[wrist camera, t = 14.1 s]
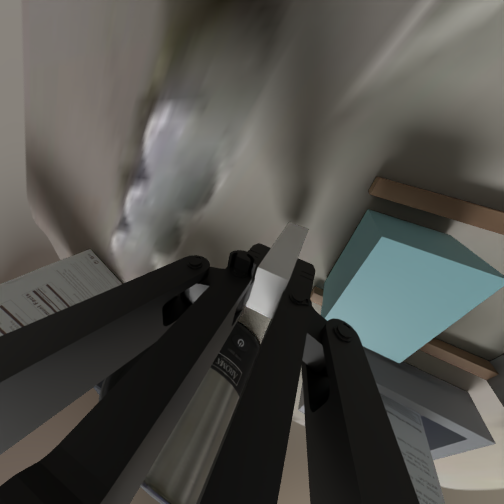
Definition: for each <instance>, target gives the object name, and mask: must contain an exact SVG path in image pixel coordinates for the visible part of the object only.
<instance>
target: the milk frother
mask: <svg viewBox="0 0 504 504" xmlns="http://www.w3.org/2000/svg"><path fill="white" fill-rule="evenodd" d="M156 342H157V341H156ZM156 342H155V343H156ZM155 343H154V344H155ZM154 344H152V345H151V346H149V347H148V348H147V349H145V350H144V351H143V352H141V353H140V354H138V355H137V356H136V357H134V358H133V359H132V360H130V361H129V362H127V363H126V364H125V365H123V366H122V367H121V368H119V369H118V370H116V371H115V372H114V373H112V374H111V375H109V376H108V377H107V378H105V380H104V382H103V384H102V387H101V391H100V395H99V401H100V400H101V399H102V398H103V397H104V396H105V395H106V394H107V393H108V392H109V391H110V390H111V389H112V388H113V387H114V386H115V385H116V384H117V383H118V382H119V380H120V379H121V378H122V377H123V376H124V375H125V374H126V373H127V372H128V371H129V370H130V369H131V368H132V367H133V366H134V365H135V364H136V363H137V362H138V360H139V359H140V358H141V357H142V356H143V355H144V354H145V353H146V352H147V351H148V350H149V349H150V348H151V347H152V346H153V345H154ZM259 347H260V345H259V343H258V341H257V339H256V338H255V336H254V335H253V334H252V333H251V332H250V331H249V330H248V329H247V328H245V327H244V326H243V325H241V324H239V323H238V322H237V323H236V324H235V326H234V328H233V330H232V331H231V333H230V335H229V336H228V338H227V340H226V341H225V343H224V345H223V347H222V348H221V350H220V352H219V353H218V355H217V357H216V358H215V360H214V362H213V364H212V365H211V367H210V369H209V370H208V372H207V374H206V375H205V377H204V379H203V380H202V382H201V384H200V386H199V387H198V389H197V391H196V392H195V394H194V396H193V397H192V399H191V401H190V403H189V404H188V406H187V408H186V409H185V411H184V413H183V414H182V416H181V418H180V419H179V421H178V423H177V425H176V426H175V428H174V430H173V431H172V433H171V435H170V436H169V438H168V440H167V442H166V443H165V445H164V447H163V448H162V450H161V452H160V453H159V455H158V457H157V458H156V460H155V462H154V464H153V465H152V467H151V469H150V470H149V472H148V474H147V475H146V477H145V479H144V481H143V482H142V484H141V486H140V487H141V488H143V489H144V490H145V491H146V492H147V493H148V494H149V495H150V496H152V497H153V498H154V499H155V500H157V501H158V502H159V503H160V504H196V503H197V500H198V498H199V495H200V493H201V490H202V488H203V485H204V483H205V481H206V478H207V476H208V473H209V471H210V468H211V466H212V463H213V461H214V458H215V456H216V453H217V451H218V448H219V446H220V444H221V441H222V439H223V436H224V434H225V431H226V429H227V426H228V424H229V421H230V419H231V416H232V414H233V412H234V409H235V407H236V404H237V402H238V399H239V397H240V394H241V392H242V389H243V387H244V384H245V382H246V379H247V377H248V375H249V372H250V370H251V367H252V365H253V362H254V360H255V357H256V355H257V352H258V350H259Z"/></svg>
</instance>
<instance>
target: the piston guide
mask: <svg viewBox="0 0 504 504" xmlns="http://www.w3.org/2000/svg"><path fill="white" fill-rule="evenodd" d="M368 192H369V194H370V195H374V196H377V197H380V198H383V199H387V200H390V201H393V202H397V203H400V204H403V205H407V206H410V207H413V208H417V209H420V210H423V211H427V212H430V213H433V214H436V215H440V216H443V217H446V218H450V219H453V220H456V221H460V222H463V223H466V224H470V225H473V226H476V227H479V228H483V229H486V230H489V231H493V232H496V233H499V234H503V235H504V212H502V211H499V210H495V209H492V208H488V207H485V206H481V205H477V204H474V203H470V202H467V201H463V200H460V199H456V198H452V197H449V196H445V195H442V194H438V193H435V192H431V191H427V190H424V189H420V188H417V187H413V186H409V185H406V184H402V183H399V182H395V181H392V180H388V179H384V178H381V177H376V178H375V180H374V182H373V184H372V185H371V187H370V189H369V191H368ZM323 292H324V290H323V289H320V288H318V287H316V286H315V287H314V289H313V290H312V292H311V296H310V300H311V301H312V302H314V303H317V304H319V305H321V306H322V301H323ZM419 350H421V351H423V352H425V353H427V354H430V355H432V356H434V357H436V358H438V359H441V360H443V361H445V362H447V363H450V364H452V365H454V366H456V367H458V368H461V369H463V370H465V371H467V372H469V373H472V374H474V375H476V376H478V377H481V378H483V379H485V380H487V382H488V383H489V385H490V386H491V388H492V389H493V391H494V393H495V394H496V396H497V397H498V399H499V400H500V402H501V403H502V405H503V407H504V354H503V355H501V356H500V357H498V358H496V359H494V360H492V361H490V362H489V361H487V360H485V359H482V358H480V357H478V356H475V355H473V354H471V353H469V352H466V351H464V350H462V349H459V348H457V347H455V346H452V345H450V344H448V343H445V342H443V341H441V340H438V339H436V338H433V339H432V340H430V341H429V342H428V343H426V344H425V345H424V346H422V347H421V348H420V349H419Z"/></svg>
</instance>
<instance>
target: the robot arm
mask: <svg viewBox="0 0 504 504" xmlns="http://www.w3.org/2000/svg"><path fill="white" fill-rule="evenodd" d="M308 230H309V229H307V228H304V227H302V226H299V225H296V224H294V223H291V222H289V223H288V224H287V226H286V227H285V229H284V230H283V232H282V233H281V234H280V236H279V237H278V239H277V240H276V242H275V243H274V244H273V246H272V247H271V248H269V247H267V246H265V245H262V244H260V243H259V244H256V245H253V246H252V247H251V248H250V250H249V251H248V252H246V251H241V250H237V251H233V252H231V253H230V256H229V261H228V267H227V268H226V269H218V268H214V267H210V264H209V261H208V260H207V259H206V258H204V257H202V256H197V255H195V256H188V257H185V258H182V259H180V260H178V261H175V262H173V263H171V264H168V265H166V266H164V267H161V268H159V269H157V270H154V271H152V272H150V273H147V274H145V275H143V276H140V277H138V278H136V279H133V280H131V281H129V282H126V283H124V284H122V285H119V286H117V287H115V288H112V289H110V290H108V291H105V292H103V293H101V294H98V295H96V296H94V297H91V298H89V299H87V300H84V301H82V302H79V303H77V304H75V305H72V306H70V307H68V308H65V309H63V310H61V311H58V312H56V313H54V314H51V315H49V316H47V317H44V318H42V319H40V320H37V321H35V322H33V323H30V324H28V325H26V326H23V327H21V328H19V329H16V330H14V331H12V332H9V333H7V334H5V335H2V336H0V454H2V453H3V452H5V451H6V450H7V449H9V448H10V447H12V446H13V445H14V444H16V443H17V442H19V441H20V440H21V439H23V438H24V437H25V436H27V435H28V434H30V433H31V432H32V431H34V430H35V429H36V428H38V427H39V426H41V425H42V424H43V423H45V422H46V421H47V420H49V419H50V418H52V417H53V416H54V415H56V414H57V413H58V412H60V411H61V410H63V409H64V408H65V407H67V406H68V405H70V404H71V403H72V402H74V401H75V400H76V399H78V398H79V397H81V396H82V395H83V394H84V393H86V392H87V391H89V390H90V389H92V388H93V387H94V386H96V385H97V384H98V383H100V382H101V381H103V380H104V379H105V378H107V377H108V376H109V375H111V374H112V373H114V372H115V371H116V370H118V369H119V368H121V367H122V366H123V365H125V364H126V363H127V362H129V361H130V360H132V359H133V358H134V357H136V356H137V355H138V354H140V353H141V352H143V351H144V350H145V349H147V348H148V347H149V346H151V345H152V344H154V343H155V342H156V341H157V342H156V343H155V344H154V345H153V346H152V347H151V348H150V349H149V350H148V351H147V352H146V353H145V354H144V355H143V356H142V357H141V358H140V359H139V360H138V362H137V363H136V364H135V365H134V366H133V367H132V368H131V369H130V370H129V371H128V372H127V373H126V374H125V375H124V376H123V377H122V378H121V379H120V380H119V382H118V383H117V384H116V385H115V386H114V387H113V388H112V389H111V390H110V391H109V392H108V393H107V394H106V395H105V396H104V397H103V398H102V399H101V400H100V401H99V403H98V404H97V405H96V406H95V407H94V408H93V409H92V410H91V411H90V412H89V413H88V414H87V415H86V416H85V417H84V418H83V419H82V420H81V422H80V423H79V424H78V425H77V426H76V427H75V428H74V429H73V430H72V431H71V432H70V433H69V434H68V435H67V436H66V437H65V438H64V439H63V440H62V441H61V443H60V444H59V445H58V446H57V447H55V448H54V449H53V450H52V451H51V452H50V453H49V454H48V455H47V456H45V457H44V458H43V459H41V460H40V461H39V462H37V463H35V464H34V465H32V466H30V467H28V468H26V469H25V470H23V471H21V472H19V473H18V474H16V475H15V476H13V477H12V478H10V479H9V480H8V481H6V482H5V483H4V484H3V485H1V486H0V504H130V503H131V501H132V499H133V497H134V496H135V494H136V492H137V491H138V489H139V487H140V486H141V484H142V482H143V481H144V479H145V477H146V475H147V474H148V472H149V470H150V469H151V467H152V465H153V464H154V462H155V460H156V458H157V457H158V455H159V453H160V452H161V450H162V448H163V447H164V445H165V443H166V442H167V440H168V438H169V436H170V435H171V433H172V431H173V430H174V428H175V426H176V425H177V423H178V421H179V419H180V418H181V416H182V414H183V413H184V411H185V409H186V408H187V406H188V404H189V403H190V401H191V399H192V397H193V396H194V394H195V392H196V391H197V389H198V387H199V386H200V384H201V382H202V380H203V379H204V377H205V375H206V374H207V372H208V370H209V369H210V367H211V365H212V364H213V362H214V360H215V358H216V357H217V355H218V353H219V352H220V350H221V348H222V347H223V345H224V343H225V341H226V340H227V338H228V336H229V335H230V333H231V331H232V330H233V328H234V326H235V324H236V323H237V321H238V319H239V318H240V316H241V314H242V311H243V308H244V306H245V304H246V303H247V304H246V307H248V308H250V309H252V310H254V311H256V312H258V313H260V314H262V315H264V316H266V317H268V318H270V319H271V321H270V323H269V325H268V328H267V330H266V332H265V334H264V338H263V340H262V342H261V345H260V347H259V350H258V352H257V355H256V357H255V360H254V362H253V365H252V367H251V370H250V372H249V375H248V377H247V379H246V382H245V384H244V387H243V389H242V392H241V394H240V397H239V399H238V402H237V404H236V407H235V409H234V412H233V414H232V416H231V419H230V421H229V424H228V426H227V429H226V431H225V434H224V436H223V439H222V441H221V444H220V446H219V448H218V451H217V453H216V456H215V458H214V461H213V463H212V466H211V468H210V471H209V473H208V476H207V478H206V481H205V483H204V485H203V488H202V490H201V493H200V495H199V498H198V500H197V503H196V504H277V500H278V495H279V489H280V484H281V478H282V472H283V466H284V461H285V455H286V450H287V444H288V438H289V433H290V426H291V421H292V416H293V410H294V404H295V398H296V393H297V387H298V381H299V376H300V370H301V364H302V380H303V395H304V411H305V426H306V440H307V441H306V442H307V457H308V472H309V488H310V502H311V504H420V503H419V500H418V497H417V495H416V492H415V489H414V486H413V484H412V481H411V478H410V475H409V473H408V470H407V467H406V464H405V461H404V459H403V456H402V453H401V450H400V448H399V445H398V442H397V439H396V437H395V434H394V431H393V428H392V426H391V423H390V420H389V417H388V415H387V412H386V409H385V406H384V404H383V401H382V398H381V395H380V393H379V390H378V387H377V384H376V382H375V379H374V376H373V373H372V371H371V368H370V365H369V362H368V360H367V357H366V354H365V351H364V349H363V346H362V343H361V340H360V338H359V336H358V334H357V332H356V331H355V330H354V329H353V328H352V326H350V325H349V324H348V323H346V322H345V321H342V320H340V319H335V318H333V319H330V320H328V321H327V320H326V319H325V318H323V317H322V316H321V315H319V314H318V313H317V312H316V311H315V310H314V308H313V307H312V302H311V300H310V296H311V291H312V286H313V280H314V275H315V269H314V266H313V265H312V264H310V263H308V262H305V261H303V260H300V259H298V256H299V253H300V251H301V248H302V245H303V243H304V240H305V238H306V235H307V232H308Z"/></svg>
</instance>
